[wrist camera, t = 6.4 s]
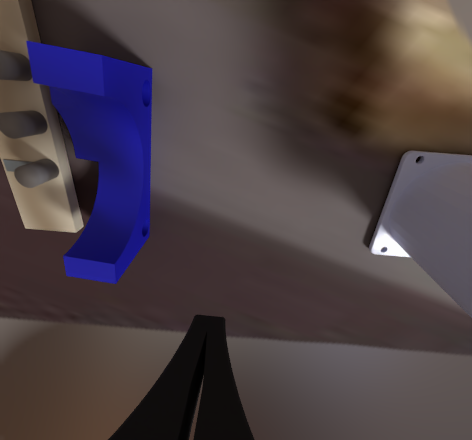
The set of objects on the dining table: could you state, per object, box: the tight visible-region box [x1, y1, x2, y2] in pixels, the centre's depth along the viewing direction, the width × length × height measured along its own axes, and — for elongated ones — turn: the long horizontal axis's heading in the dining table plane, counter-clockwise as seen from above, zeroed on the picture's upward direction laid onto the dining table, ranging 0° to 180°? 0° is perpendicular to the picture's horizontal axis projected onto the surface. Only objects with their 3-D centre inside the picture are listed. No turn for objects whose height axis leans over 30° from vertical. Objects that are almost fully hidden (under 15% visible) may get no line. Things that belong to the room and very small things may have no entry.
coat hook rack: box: [0, 0, 84, 233], centre depth 15 cm, size 4×16×3 cm, turn 176°
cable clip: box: [26, 41, 152, 284], centre depth 15 cm, size 12×4×6 cm, turn 170°
